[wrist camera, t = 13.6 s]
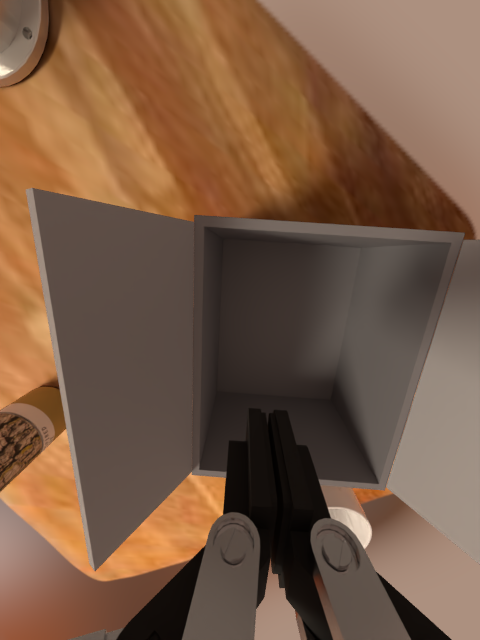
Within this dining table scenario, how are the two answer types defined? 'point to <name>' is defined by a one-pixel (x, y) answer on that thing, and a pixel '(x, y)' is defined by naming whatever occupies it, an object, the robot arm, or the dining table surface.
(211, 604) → the robot arm
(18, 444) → the paper tube
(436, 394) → the flap
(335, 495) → the white cup
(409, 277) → the carton
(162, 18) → the dining table surface
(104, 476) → the flap
